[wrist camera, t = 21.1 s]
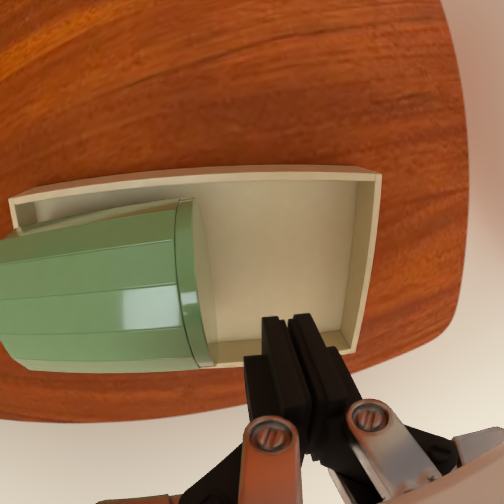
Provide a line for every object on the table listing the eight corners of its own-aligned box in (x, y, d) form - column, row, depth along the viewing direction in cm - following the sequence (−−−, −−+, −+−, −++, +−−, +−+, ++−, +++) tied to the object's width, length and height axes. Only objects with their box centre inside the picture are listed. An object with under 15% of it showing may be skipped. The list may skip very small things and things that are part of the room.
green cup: (184, 187, 9) (-23, 230, 8) (216, 400, 10) (16, 394, 9) (203, 202, 16) (56, 225, 15) (219, 331, 17) (77, 341, 16)
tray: (358, 166, 16) (382, 173, 13) (340, 327, 20) (355, 352, 18) (33, 187, 14) (7, 198, 12) (73, 339, 18) (60, 365, 16)
